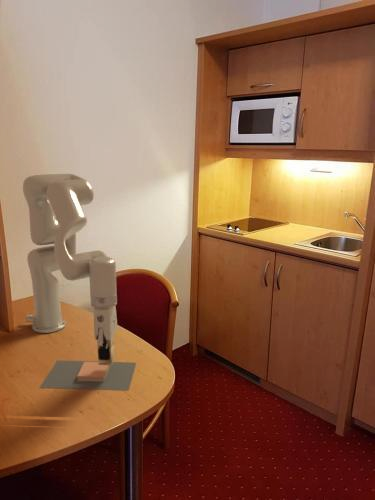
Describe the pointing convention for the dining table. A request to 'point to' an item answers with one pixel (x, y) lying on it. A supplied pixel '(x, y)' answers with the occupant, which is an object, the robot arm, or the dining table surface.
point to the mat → (66, 378)
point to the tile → (92, 372)
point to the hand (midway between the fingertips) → (106, 354)
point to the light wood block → (111, 346)
